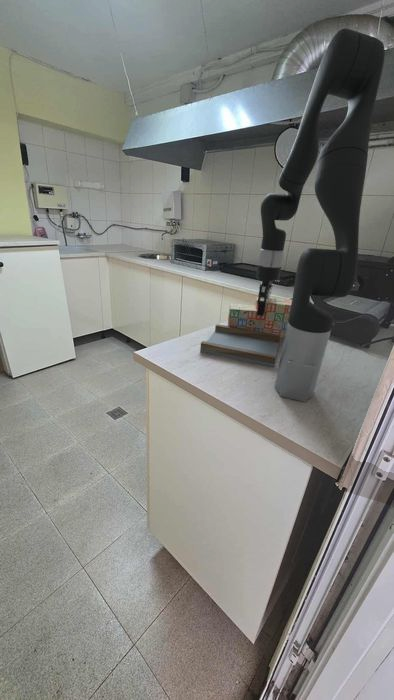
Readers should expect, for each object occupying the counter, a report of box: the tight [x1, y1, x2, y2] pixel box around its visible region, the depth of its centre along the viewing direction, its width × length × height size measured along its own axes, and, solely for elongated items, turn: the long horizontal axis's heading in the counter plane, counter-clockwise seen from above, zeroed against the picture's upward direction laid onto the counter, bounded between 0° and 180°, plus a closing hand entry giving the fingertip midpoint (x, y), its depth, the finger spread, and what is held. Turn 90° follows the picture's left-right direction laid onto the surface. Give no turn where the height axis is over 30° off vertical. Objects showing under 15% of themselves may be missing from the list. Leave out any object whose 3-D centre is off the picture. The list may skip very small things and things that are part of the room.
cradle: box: [199, 323, 281, 368], centre depth 90 cm, size 17×22×3 cm
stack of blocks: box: [227, 297, 292, 339], centre depth 100 cm, size 21×6×12 cm, turn 85°
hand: (262, 311), depth 99 cm, fingers open, 8 cm apart
